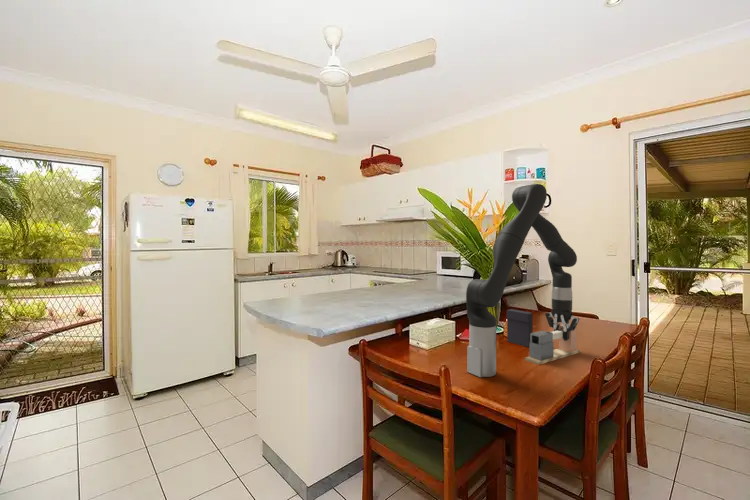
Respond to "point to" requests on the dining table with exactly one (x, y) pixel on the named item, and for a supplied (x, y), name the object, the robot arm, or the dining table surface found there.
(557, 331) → the slip tube
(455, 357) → the dining table surface
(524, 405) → the dining table surface
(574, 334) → the socket
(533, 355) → the sleeve
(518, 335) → the dark gray lidded box
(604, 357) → the dining table surface
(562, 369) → the dining table surface
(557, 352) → the base board
